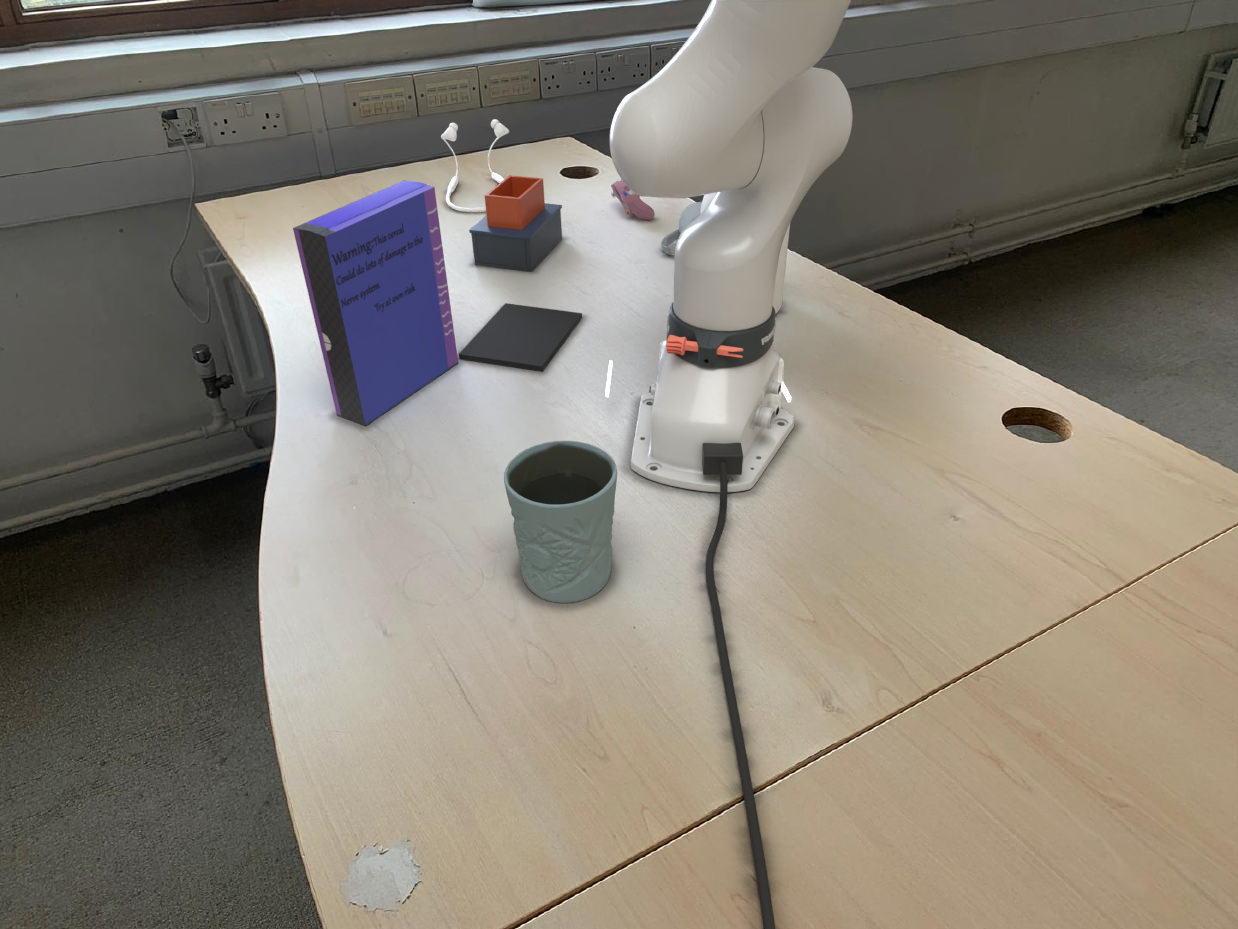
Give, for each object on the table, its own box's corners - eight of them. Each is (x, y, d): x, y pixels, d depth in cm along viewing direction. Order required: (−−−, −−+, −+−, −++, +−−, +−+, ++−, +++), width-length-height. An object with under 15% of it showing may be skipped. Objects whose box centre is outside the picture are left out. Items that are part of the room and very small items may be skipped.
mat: (542, 371, 118) (542, 366, 117) (459, 359, 121) (458, 353, 120) (582, 318, 130) (582, 312, 130) (505, 307, 133) (505, 302, 133)
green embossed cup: (525, 617, 82) (515, 515, 75) (505, 547, 90) (494, 449, 83) (631, 594, 84) (631, 493, 77) (603, 528, 92) (600, 430, 85)
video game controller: (619, 212, 168) (602, 181, 164) (640, 199, 168) (624, 167, 164) (636, 231, 161) (619, 199, 156) (658, 217, 160) (641, 184, 156)
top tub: (522, 229, 142) (519, 198, 139) (487, 226, 143) (484, 195, 140) (545, 208, 150) (543, 178, 147) (511, 204, 151) (509, 175, 148)
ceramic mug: (718, 238, 153) (719, 194, 149) (730, 257, 147) (732, 211, 142) (657, 244, 152) (656, 199, 148) (666, 263, 146) (666, 217, 141)
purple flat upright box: (430, 354, 122) (403, 178, 108) (458, 363, 120) (434, 185, 106) (336, 415, 110) (292, 226, 96) (365, 426, 108) (324, 234, 94)
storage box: (532, 272, 143) (530, 236, 140) (473, 265, 146) (469, 229, 142) (563, 238, 154) (562, 204, 151) (507, 232, 157) (504, 199, 153)
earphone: (504, 152, 181) (510, 110, 163) (518, 232, 180) (525, 198, 162) (436, 158, 178) (435, 116, 161) (450, 239, 177) (449, 206, 160)
